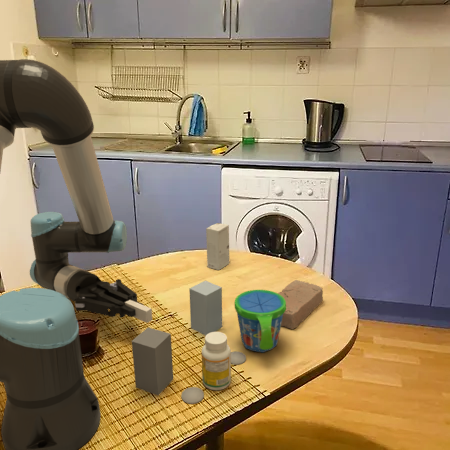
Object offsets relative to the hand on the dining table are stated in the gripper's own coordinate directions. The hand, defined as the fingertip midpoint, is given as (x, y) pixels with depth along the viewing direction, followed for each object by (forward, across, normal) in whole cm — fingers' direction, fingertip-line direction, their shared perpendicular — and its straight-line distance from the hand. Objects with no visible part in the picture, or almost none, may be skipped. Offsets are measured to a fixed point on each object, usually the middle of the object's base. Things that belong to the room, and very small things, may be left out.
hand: (149, 315), depth 95 cm
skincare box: (-13, -40, -7) cm, 43 cm away
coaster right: (+17, -7, -7) cm, 20 cm away
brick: (+17, -30, -7) cm, 36 cm away
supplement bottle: (+19, +1, -7) cm, 20 cm away
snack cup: (+18, -14, -7) cm, 24 cm away
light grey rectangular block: (+5, -12, -7) cm, 15 cm away
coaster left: (+17, +7, -7) cm, 20 cm away
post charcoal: (+9, +8, -7) cm, 14 cm away
